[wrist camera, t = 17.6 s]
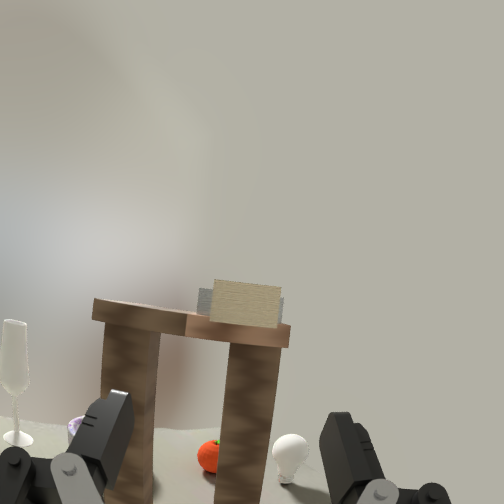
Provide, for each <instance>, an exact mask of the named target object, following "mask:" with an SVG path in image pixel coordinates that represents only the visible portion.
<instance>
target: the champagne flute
mask: <svg viewBox="0 0 504 504" xmlns="http://www.w3.org/2000/svg"><path fill="white" fill-rule="evenodd" d="M0 383H1V385H2V386H3V387H4V388H5V390H6V391H7V392H8V393H9V394H11V395H12V408H13V420H14V429H15V430H13V431H10V432H7V433H5V434H4V436H3V438H4V440H5V441H6V442H7V443H9V444H11V445H14V446H19V447H26V446H29V445H31V444H32V443H33V439H32V438H31V437H30V436H29V435H27V434H25V433H23V432H22V431H20V427H19V417H18V403H17V396H18V395H20V394H21V393H23V392H24V391H25V390H26V389H27V387H28V386H29V383H30V380H29V367H28V352H27V324H26V323H23V322H20V321H16V320H9V319H6V320H4V324H3V332H2V339H1V348H0Z"/></svg>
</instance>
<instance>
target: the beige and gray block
mask: <svg viewBox="0 0 504 504" xmlns="http://www.w3.org/2000/svg"><path fill="white" fill-rule="evenodd" d="M280 294H281V287H276V286H267V285H258V284H249V283H241V282H232V281H224V280H216V279H215V280H214V287H213V290H211V289H204V288H199V297H198V304H197V313H196V314H198V315H205V316H210V321H213V322H221V323H229V324H237V325H246V326H256V327H266V328H276V329H277V324H281V319H282V311H283V301H284V298H281V297H280Z"/></svg>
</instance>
